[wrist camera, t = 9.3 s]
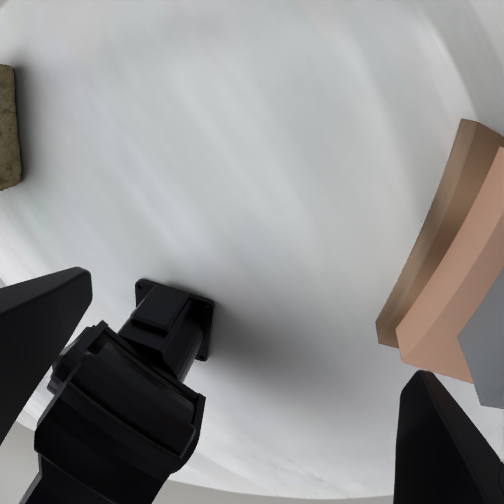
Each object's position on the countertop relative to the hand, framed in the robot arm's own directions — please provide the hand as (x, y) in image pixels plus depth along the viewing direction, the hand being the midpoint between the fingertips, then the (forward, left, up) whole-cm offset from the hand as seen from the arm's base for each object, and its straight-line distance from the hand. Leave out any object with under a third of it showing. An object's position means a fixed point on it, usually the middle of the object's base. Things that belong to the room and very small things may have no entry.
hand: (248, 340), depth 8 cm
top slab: (0, -14, -11) cm, 18 cm away
